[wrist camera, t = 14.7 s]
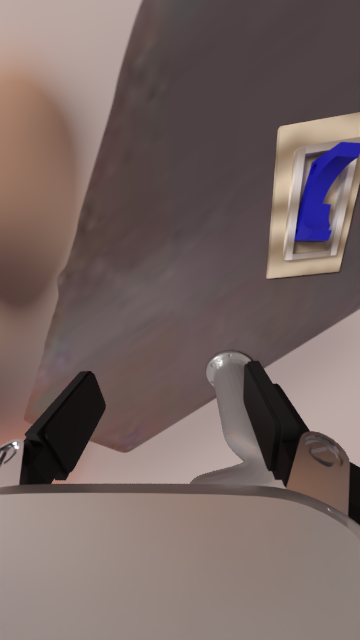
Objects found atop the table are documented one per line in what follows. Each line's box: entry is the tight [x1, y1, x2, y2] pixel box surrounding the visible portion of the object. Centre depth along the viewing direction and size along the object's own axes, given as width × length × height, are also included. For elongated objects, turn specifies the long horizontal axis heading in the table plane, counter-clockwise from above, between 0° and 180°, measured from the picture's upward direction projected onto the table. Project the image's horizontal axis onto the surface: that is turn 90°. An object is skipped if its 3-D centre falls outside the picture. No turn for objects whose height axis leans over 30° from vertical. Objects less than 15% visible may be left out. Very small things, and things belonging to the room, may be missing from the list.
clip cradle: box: [267, 112, 360, 279], centre depth 31 cm, size 24×14×2 cm, turn 6°
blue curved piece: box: [294, 142, 360, 243], centre depth 28 cm, size 12×4×6 cm, turn 176°
